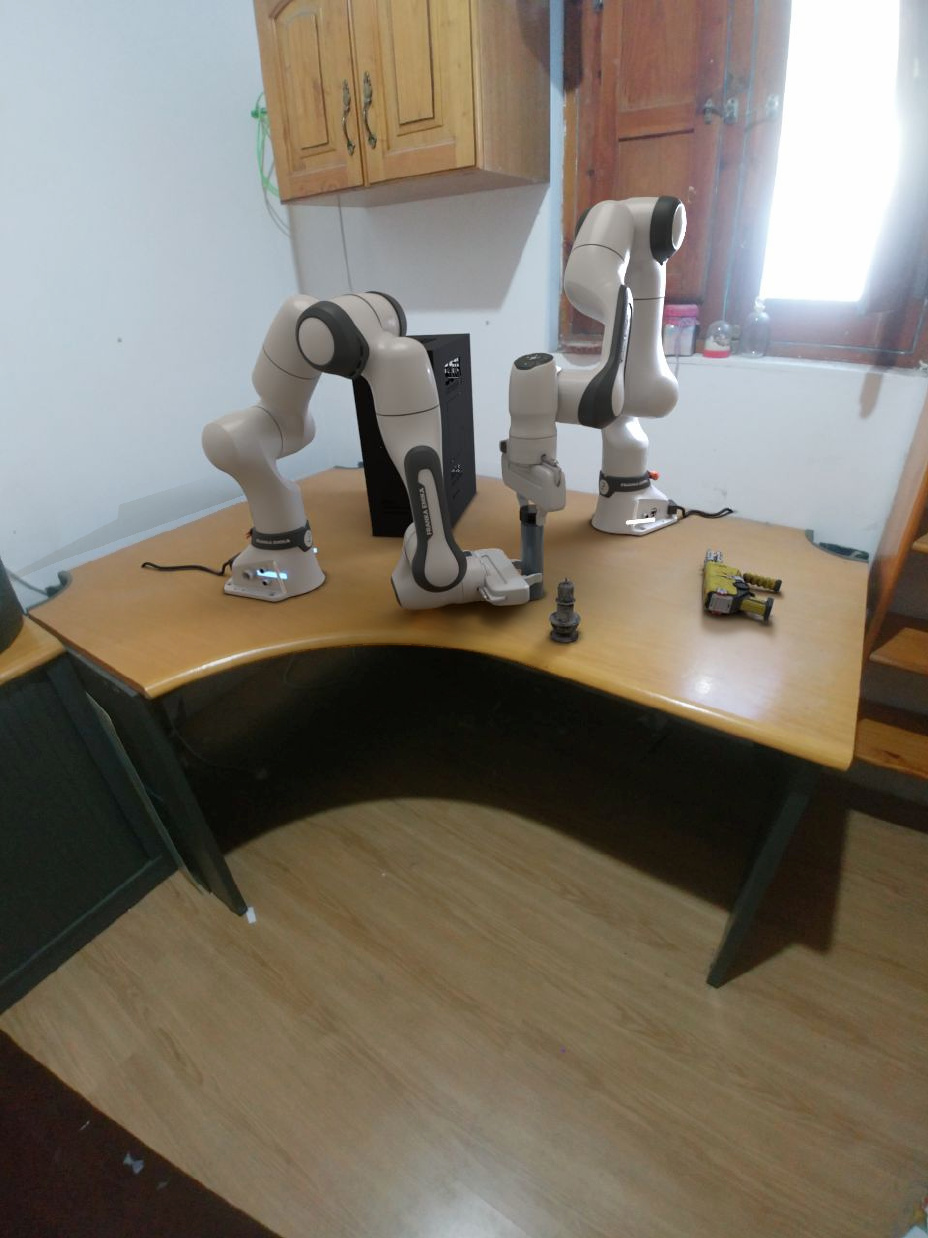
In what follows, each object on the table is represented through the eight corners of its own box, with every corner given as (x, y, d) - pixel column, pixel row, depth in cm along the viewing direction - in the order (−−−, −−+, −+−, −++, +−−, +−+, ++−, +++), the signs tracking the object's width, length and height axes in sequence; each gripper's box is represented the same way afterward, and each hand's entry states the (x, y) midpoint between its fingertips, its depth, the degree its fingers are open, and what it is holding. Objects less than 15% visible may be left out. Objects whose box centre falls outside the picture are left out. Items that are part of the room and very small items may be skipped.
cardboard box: (446, 538, 156) (432, 350, 134) (372, 535, 161) (348, 352, 138) (476, 491, 188) (469, 333, 165) (414, 490, 192) (399, 335, 170)
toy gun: (779, 558, 129) (706, 546, 133) (794, 606, 109) (707, 591, 113) (773, 578, 131) (701, 566, 135) (786, 629, 111) (701, 613, 115)
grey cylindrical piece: (525, 601, 125) (525, 518, 116) (517, 591, 129) (517, 510, 120) (546, 597, 126) (548, 514, 117) (538, 587, 130) (539, 507, 121)
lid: (550, 517, 120) (550, 506, 118) (536, 526, 116) (536, 514, 115) (528, 513, 122) (528, 502, 121) (514, 521, 119) (514, 510, 118)
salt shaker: (579, 643, 110) (582, 585, 104) (547, 641, 111) (548, 583, 105) (580, 627, 115) (583, 570, 109) (549, 625, 116) (551, 569, 110)
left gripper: (484, 588, 112) (554, 577, 115) (459, 547, 130) (520, 538, 132) (485, 617, 116) (553, 606, 118) (461, 573, 133) (521, 564, 135)
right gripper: (576, 459, 105) (573, 533, 112) (523, 436, 122) (523, 501, 128) (544, 465, 103) (543, 540, 110) (495, 440, 120) (496, 506, 127)
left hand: (536, 570), depth 125 cm, fingers closed on grey cylindrical piece, 5 cm apart
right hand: (532, 519), depth 119 cm, fingers closed on lid, 5 cm apart
